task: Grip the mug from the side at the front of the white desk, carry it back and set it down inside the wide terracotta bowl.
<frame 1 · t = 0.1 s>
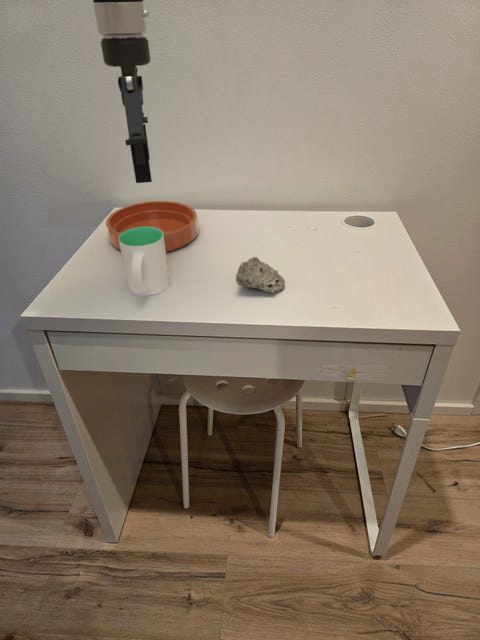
hand: (143, 170, 82), 19 cm above the table, tool pointing down, fingers open, 13 cm apart
bowl: (154, 235, 103), on the table
rock sample: (262, 285, 85), on the table
mug: (148, 290, 84), on the table
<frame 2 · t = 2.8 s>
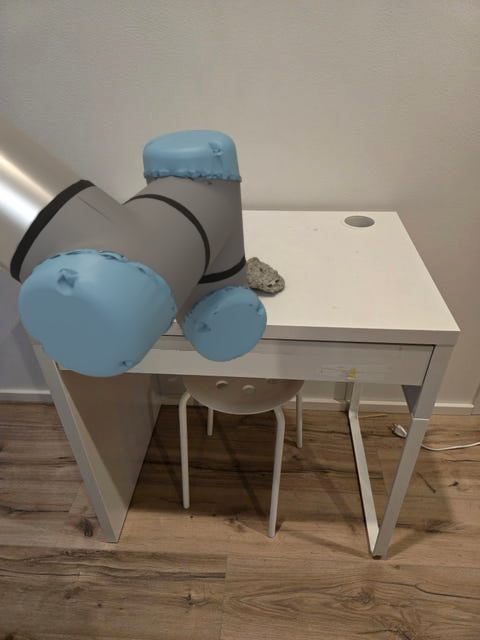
hand: (134, 207, 66), 20 cm above the table, tool horizontal, fingers open, 13 cm apart
nothing on the table moved.
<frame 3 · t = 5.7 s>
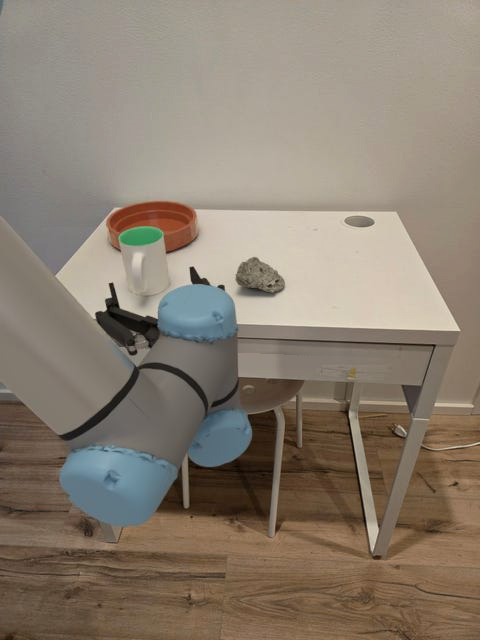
hand: (153, 281, 74), 7 cm above the table, tool horizontal, fingers open, 13 cm apart
nothing on the table moved.
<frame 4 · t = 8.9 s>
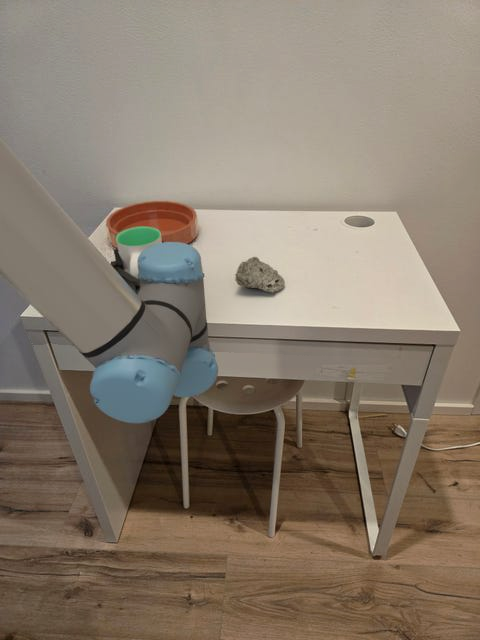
hand: (139, 251, 84), 6 cm above the table, tool horizontal, fingers closed on mug, 8 cm apart
mug: (146, 290, 84), on the table, touching gripper
everything else where it was.
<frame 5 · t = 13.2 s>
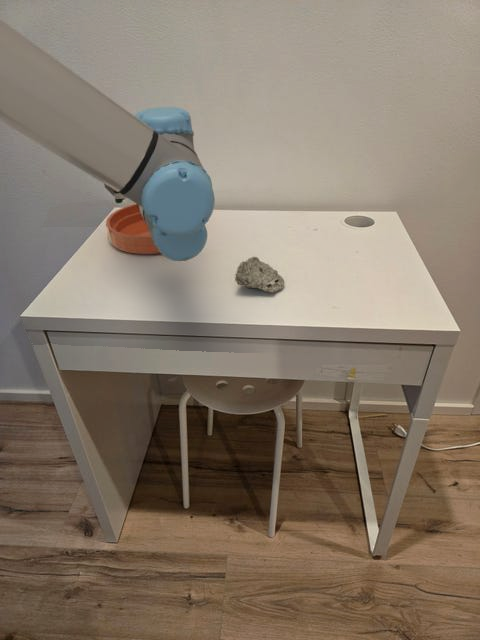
hand: (137, 163, 89), 18 cm above the table, tool horizontal, fingers closed on mug, 8 cm apart
mug: (143, 201, 89), point 12 cm above the table, touching gripper
everything else where it was.
when the fingers open (7 cm above the table, at t = 18.0 s): mug stays where it is, resting on bowl.
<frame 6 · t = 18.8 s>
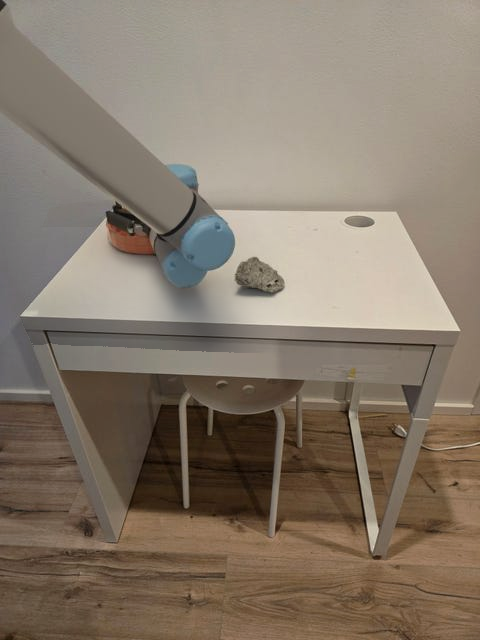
hand: (146, 198, 101), 8 cm above the table, tool horizontal, fingers open, 13 cm apart
mug: (152, 234, 103), resting on bowl
everything else where it was.
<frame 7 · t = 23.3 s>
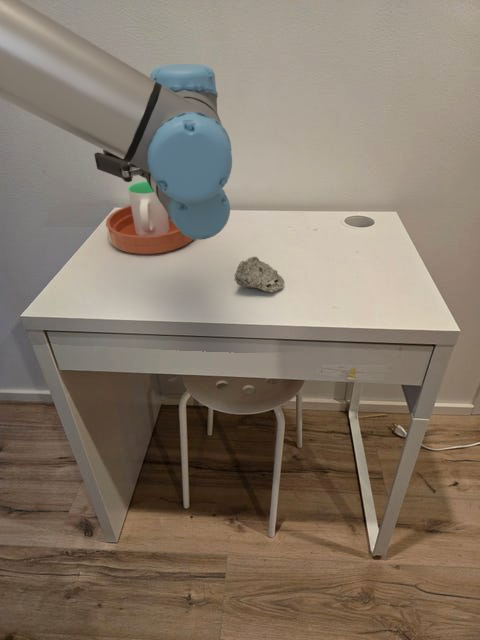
hand: (146, 143, 82), 23 cm above the table, tool horizontal, fingers open, 13 cm apart
nothing on the table moved.
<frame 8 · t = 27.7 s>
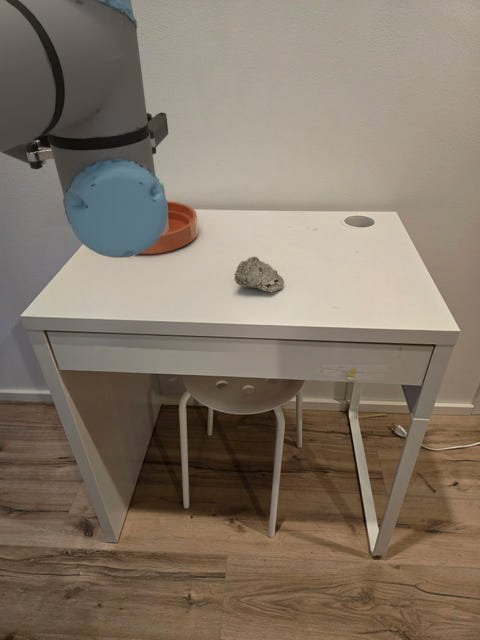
hand: (81, 119, 60), 32 cm above the table, tool horizontal, fingers open, 13 cm apart
nothing on the table moved.
at the end: mug inside the target area in the bowl (0.5 cm from its centre), point 0.4 cm above the bowl's base; mug tilted 0°; the gripper is holding nothing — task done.
